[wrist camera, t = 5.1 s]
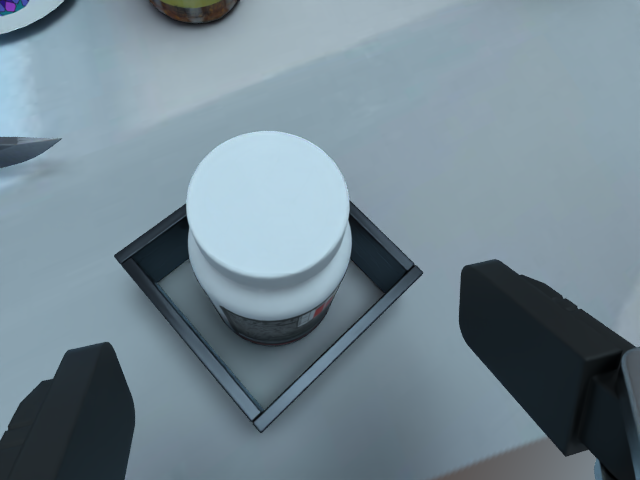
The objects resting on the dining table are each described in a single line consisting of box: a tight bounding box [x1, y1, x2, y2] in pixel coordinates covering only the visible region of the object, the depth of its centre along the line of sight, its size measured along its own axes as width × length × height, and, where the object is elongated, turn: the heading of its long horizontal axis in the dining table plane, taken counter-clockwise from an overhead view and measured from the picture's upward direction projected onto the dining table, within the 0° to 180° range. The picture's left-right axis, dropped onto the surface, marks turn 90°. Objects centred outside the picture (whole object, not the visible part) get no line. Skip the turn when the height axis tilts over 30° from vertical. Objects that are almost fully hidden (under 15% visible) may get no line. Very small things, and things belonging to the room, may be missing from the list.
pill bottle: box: [186, 131, 352, 346], centre depth 17 cm, size 6×6×10 cm
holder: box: [114, 200, 423, 433], centre depth 20 cm, size 9×9×4 cm
